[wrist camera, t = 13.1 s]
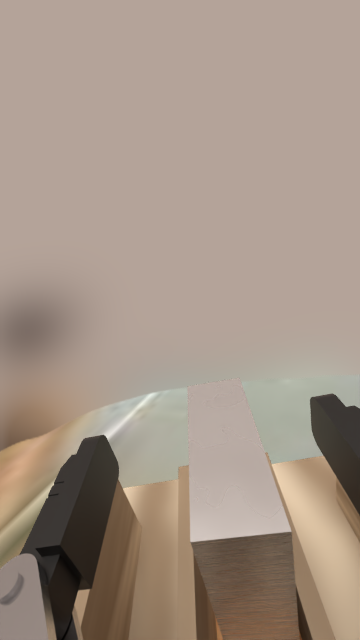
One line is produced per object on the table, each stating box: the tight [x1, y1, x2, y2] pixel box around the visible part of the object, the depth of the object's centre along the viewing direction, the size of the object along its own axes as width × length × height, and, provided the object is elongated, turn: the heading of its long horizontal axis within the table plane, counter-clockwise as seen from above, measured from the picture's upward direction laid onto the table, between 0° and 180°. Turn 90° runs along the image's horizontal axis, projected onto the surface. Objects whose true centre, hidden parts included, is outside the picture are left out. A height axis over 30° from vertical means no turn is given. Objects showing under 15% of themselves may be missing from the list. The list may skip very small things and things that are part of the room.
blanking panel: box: [188, 378, 300, 640], centre depth 11 cm, size 2×6×14 cm, turn 1°
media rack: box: [74, 452, 360, 640], centre depth 13 cm, size 19×19×7 cm
